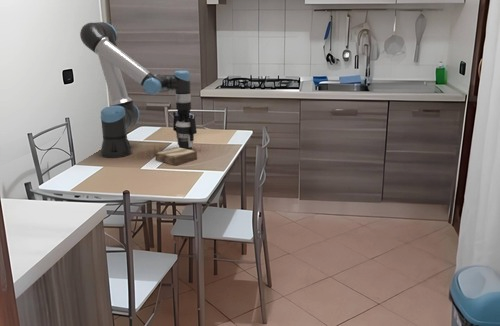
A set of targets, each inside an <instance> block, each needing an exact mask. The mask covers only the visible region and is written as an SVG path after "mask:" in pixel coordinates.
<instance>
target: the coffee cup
mask: <svg viewBox="0 0 500 326" xmlns="http://www.w3.org/2000/svg"><path fill="white" fill-rule="evenodd" d="M175 126H176V128H177V134H176V136H177V135H178V142H177V144H178V143H179V145H178V147H179V148H184V149H188V150H193V147H188V134H189V128H191V125H190V122H186V123H185V121H184V120H183V121H180V122H179V121H177V123H176V125H175Z"/></svg>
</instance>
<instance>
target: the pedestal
mask: <svg viewBox="0 0 500 326" xmlns="http://www.w3.org/2000/svg"><path fill="white" fill-rule="evenodd" d="M154 156H155V161H157V162H161V163H164V164H168V165H172V166H179V165H183V164H186V163H188V162H192V161H194V160H198V153H197V151H195V150H193V149H192V150H188V149H184V148H179V146H176V147H171V148H168V149H164V150H161V151H156V153H155V155H154Z"/></svg>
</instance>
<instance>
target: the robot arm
mask: <svg viewBox="0 0 500 326" xmlns="http://www.w3.org/2000/svg"><path fill="white" fill-rule="evenodd" d="M79 36H80V40H81V41H82V43H83V45H84V46H85V47H86V48H88V49H89V50H91V52H93V53H94V54H96V55H97V56H98V60H99V63H100V66H101V69H102V72H103V76H104V80H105V82H106V85H107V90H108V92H109V95H110V99H111V102H110V105H109V106H106V107H104V108H102V109H101V111H100V119H101V131H102V132H101V133H102V143H101V148H100V156H101V157H104V158H121V157H126V156H129V155H131V154H132V152H133V150H132V147H131V144H130V141H129V138H128V132H127V129H128V128H131V127H133V126H134V125H136V124H137V122H138V121H139V119H140V110H139V108H138V106H136V105H135V104H134V101H133V98H131V97H129V94H128V91H127V87H126V83H125V81H124V78H123V73H124V74H126V75H127V76H129V77H130V78H131V79H132V80H134V81H135V82H136V83H138V84H139V85H140V86H142V87H143V91H144V92H145V93H146V94H148V95H156V94H159V93H161V92H163V91H166V90H167V91H173V90H174V91H175V101H176V103H175V108H176V110H177V111H174V112H172V115H173V125H172V126H173V127H172V129H173V132H174V131H175V133H176V134H175V135H176V139H177V146H179V143H178V135H177V128H176V126H175V125H176V123H177V121H179V122H180V121H183V120H184V121H185V123H186V122H190V125H191V128H189V134H188V147H192V148H193V147H194V139H195V138H194V135H195V134H197V126H196V125H197V124H196V114H194V113H193V114H192V112H191V110H192V102H191V101H192V98H191V97H192V96H191V94H192V93H191V77H190V76H191V75H190V71H188V70H176V71H174V74H159V73H158V74H153V73H152V72H150V71H149V70H148V69H147V68H145V67H144V66H142V65H141V64H140V63H139V62H138V61H136V60H135V59H133V58H132V57H131V56H129V55H128V54H127V53H125V52H124V51H123V50H121V49H120V48H119V47H118V46H117V43H116V41H117V40H118V34H117V29H115V27H114V26H113V25H112V24H109V23H108V22H104V21H100V22H99V21H98V22H97V21H96V22H89V23H86V24H84V25H83V26H82V27H81V29H80V32H79ZM122 72H123V73H122Z"/></svg>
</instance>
